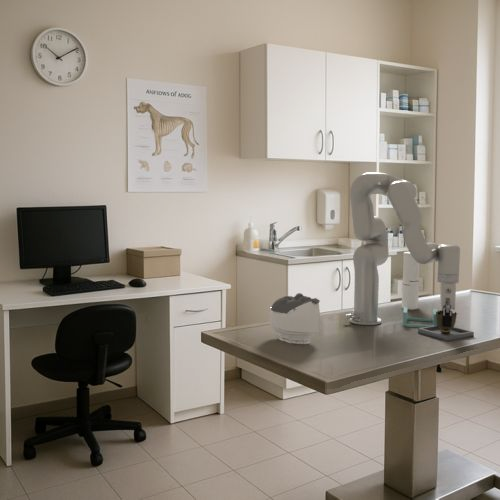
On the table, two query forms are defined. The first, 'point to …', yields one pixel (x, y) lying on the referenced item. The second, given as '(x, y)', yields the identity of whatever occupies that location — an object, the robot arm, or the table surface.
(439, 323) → the cup
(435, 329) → the tray
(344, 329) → the table surface
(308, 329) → the white bowl with contents
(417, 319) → the holder
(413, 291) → the cylindrical container
